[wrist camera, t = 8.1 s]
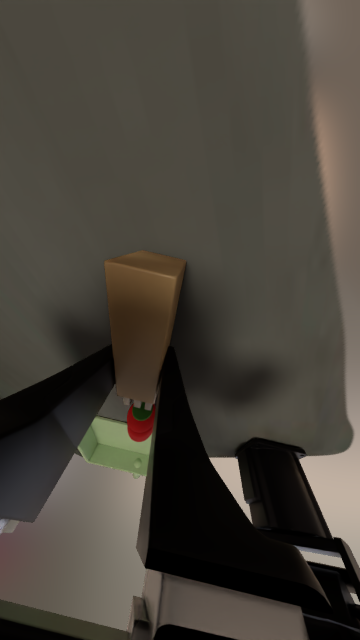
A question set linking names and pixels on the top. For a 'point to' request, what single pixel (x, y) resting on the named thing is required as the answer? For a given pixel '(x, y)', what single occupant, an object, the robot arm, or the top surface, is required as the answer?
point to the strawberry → (140, 422)
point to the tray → (113, 457)
